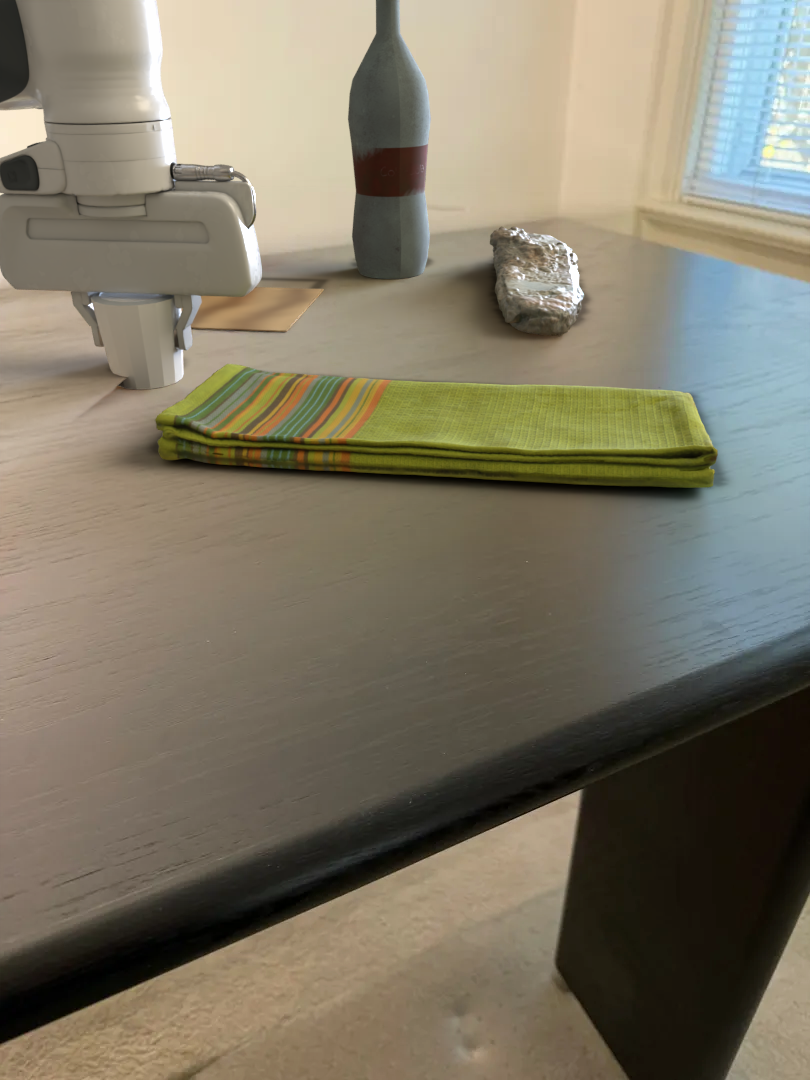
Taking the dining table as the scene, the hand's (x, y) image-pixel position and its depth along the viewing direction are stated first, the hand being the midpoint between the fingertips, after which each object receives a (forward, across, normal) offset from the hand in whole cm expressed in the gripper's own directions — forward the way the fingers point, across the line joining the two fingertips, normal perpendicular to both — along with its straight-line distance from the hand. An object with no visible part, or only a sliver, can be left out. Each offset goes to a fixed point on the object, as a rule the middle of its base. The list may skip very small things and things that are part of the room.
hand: (143, 346), depth 72 cm
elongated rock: (+3, -31, -32) cm, 45 cm away
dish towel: (+3, -25, +9) cm, 27 cm away
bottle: (+3, -14, -40) cm, 42 cm away
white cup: (+3, 0, 0) cm, 3 cm away
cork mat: (+3, +1, -22) cm, 22 cm away
